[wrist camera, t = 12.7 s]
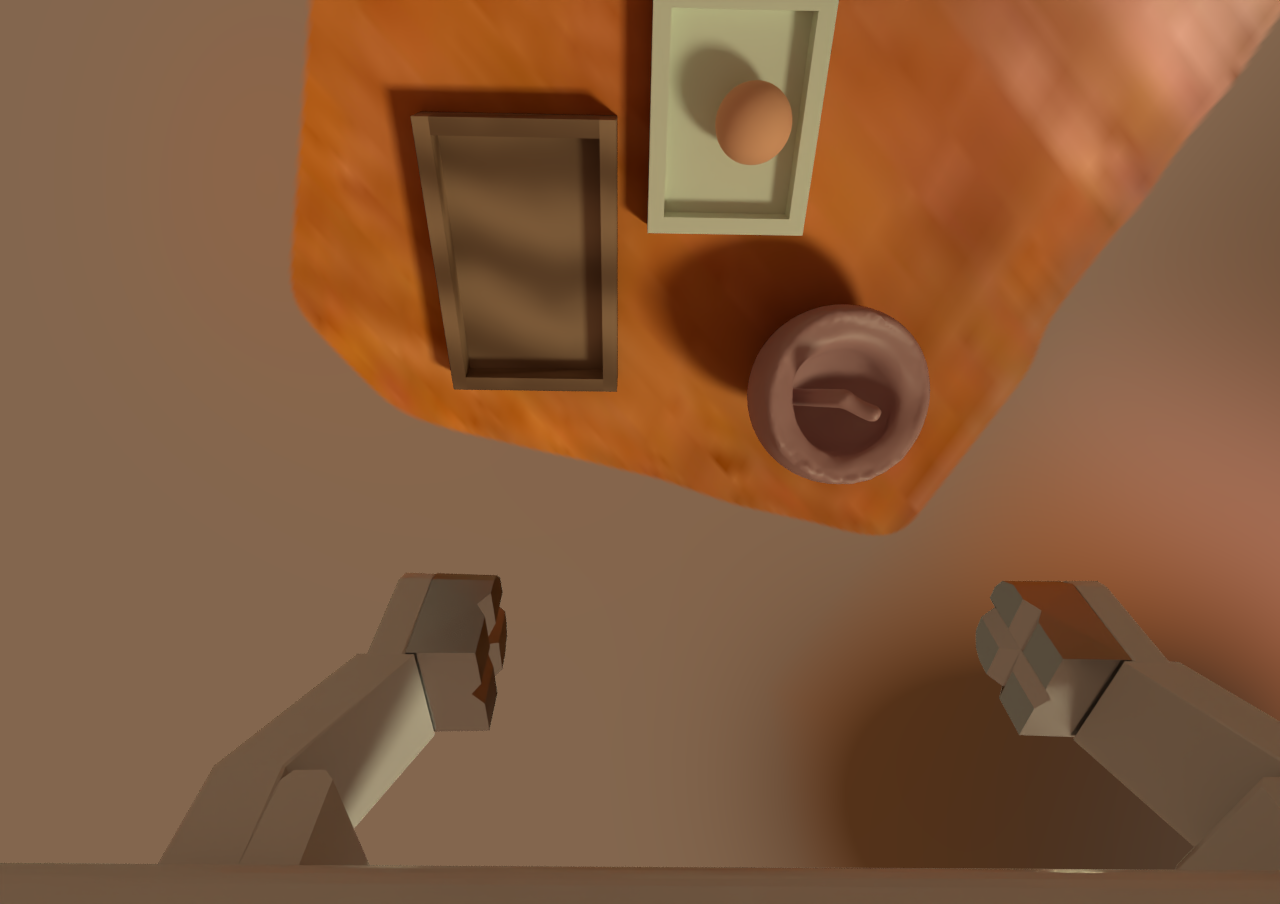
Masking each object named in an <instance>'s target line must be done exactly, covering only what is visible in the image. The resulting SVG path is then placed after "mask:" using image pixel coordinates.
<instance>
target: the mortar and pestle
mask: <svg viewBox="0 0 1280 904" xmlns="http://www.w3.org/2000/svg"><path fill="white" fill-rule="evenodd" d="M929 398H930V382H929V374H928V367H927V363H926V361H925V357H924V355H923V353H922V350H921V348H920V346H919V345H918V343H917V342H916V340H915V339H914V337H913V336H912V335H911V333H910V332H909V331H908V330H907V329H906V328H905V327H904V326H903V325H901V324H900V323H899V322H898V321H896V320H895V319H894V318H892V317H890V316H888V315H886V314H884V313H882V312H880V311H877V310H874V309H871V308H868V307H863V306H858V305H848V304H838V305H828V306H822V307H819V308H815V309H812V310H809V311H806V312H804V313H802V314H800V315H797V316H796V317H794V318H792V319H791V320H789V321H788V322H786V323H785V324H783V325H782V326H781V327H780V328H779V329H777V330H776V331H775V332H774V333H773V334H772V335H771V336H770V338H769V339H768V340H767V341H766V342H765V344H764V345H763V347H762V348H761V350H760V352H759V353H758V355H757V357H756V359H755V362H754V364H753V366H752V370H751V373H750V376H749V382H748V391H747V401H748V411H749V416H750V420H751V423H752V426H753V429H754V431H755V433H756V435H757V437H758V439H759V440H760V442H761V444H762V445H763V447H764V448H765V449H766V451H767V452H768V453H769V454H770V455H771V456H772V457H773V458H774V459H775V460H776V461H777V462H778V463H780V464H781V465H782V466H784V467H785V468H786V469H788V470H790V471H791V472H793V473H795V474H797V475H799V476H801V477H804V478H807V479H810V480H813V481H817V482H822V483H829V484H854V483H857V482H861V481H867V480H870V479H872V478H874V477H875V476H877V475H880V474H882V473H884V472H886V471H887V470H888V469H889V468H891V467H892V466H894V465H895V464H897V463H898V462H899V461H900V460H902V459H903V458H904V456H905V455H906V454H907V452H908V451H909V450H910V448H911V447H912V445H913V444H914V442H915V441H916V439H917V437H918V435H919V433H920V431H921V428H922V426H923V424H924V420H925V417H926V415H927V411H928V405H929Z"/></svg>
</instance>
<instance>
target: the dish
mask: <svg viewBox="0 0 1280 904" xmlns="http://www.w3.org/2000/svg"><path fill="white" fill-rule="evenodd" d="M411 123H412V129H413V135H414V142H415V148H416V154H417V160H418V167H419V173H420V179H421V186H422V192H423V198H424V205H425V211H426V217H427V223H428V230H429V236H430V242H431V249H432V255H433V261H434V268H435V274H436V280H437V286H438V293H439V299H440V305H441V312H442V318H443V324H444V331H445V337H446V343H447V349H448V356H449V362H450V368H451V375H452V381H453V387H454V389H464V390H535V391H606V392H617V378H618V346H617V115H566V114H516V113H466V112H419V113H416V114H414V115H412V116H411Z"/></svg>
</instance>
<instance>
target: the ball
mask: <svg viewBox="0 0 1280 904" xmlns="http://www.w3.org/2000/svg"><path fill="white" fill-rule="evenodd" d="M791 128H792V110H791V106H790V104H789V101H788V99H787V97H786V96H785V94H784V93H783V92H782V91H781V90H780V89H779V88H778V87H777V86H775V85H774V84H772V83H769V82H766V81H762V80H751V81H747V82H744V83H742V84H739V85H738V86H736V87H735V88H733V89H732V90H731V91H730V92H729V93H728V94H727V95H726V96H725V98H724V99H723V101H722V102H721V104H720V106H719V109H718V112H717V115H716V121H715V131H716V137H717V140H718V143H719V145H720V147H721V148H722V150H723V151H724V153H725V154H726V155H727V156H728V157H729V158H731V159H732V160H734V161H735V162H738V163H740V164H745V165H758V164H761V163H764V162H767V161H769V160H770V159H772V158H773V157H775V156H776V155H777V154H778V153H779V152H780V151H781V150H782V148H783V147H784V146H785V144H786V142H787V140H788V138H789V136H790V133H791Z"/></svg>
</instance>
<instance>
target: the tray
mask: <svg viewBox="0 0 1280 904" xmlns="http://www.w3.org/2000/svg"><path fill="white" fill-rule="evenodd" d="M838 2H839V0H653V7H652V48H651V90H650V132H649V174H648V215H647V229H648V233H680V234H737V235H794V236H802V235H803V229H804V222H805V216H806V209H807V203H808V196H809V190H810V183H811V177H812V170H813V164H814V157H815V151H816V144H817V138H818V132H819V125H820V119H821V112H822V106H823V99H824V93H825V86H826V80H827V73H828V67H829V60H830V54H831V47H832V41H833V34H834V28H835V21H836V15H837V9H838ZM751 80H762V81H766V82H769V83H772V84H774V85H775V86H777V87H778V88H779V89H780V90H781V91H782V92H783V93H784V94H785V96H786V97H787V99H788V101H789V104H790V106H791V110H792V128H791V133H790V136H789V138H788V140H787V142H786V144H785V146H784V147H783V148H782V150H781V151H780V152H779V153H778V154H777V155H776V156H775V157H773V158H772V159H770V160H769V161H767V162H764V163H761V164H758V165H745V164H740V163H738V162H735V161H734V160H732V159H731V158H729V157H728V156H727V155H726V154H725V153H724V151H723V150H722V148H721V147H720V145H719V143H718V140H717V137H716V131H715V121H716V115H717V112H718V109H719V106H720V104H721V102H722V101H723V99H724V98H725V96H726V95H727V94H728V93H729V92H730V91H731V90H732V89H733V88H735V87H736V86H738V85H739V84H742V83H744V82H747V81H751Z"/></svg>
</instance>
